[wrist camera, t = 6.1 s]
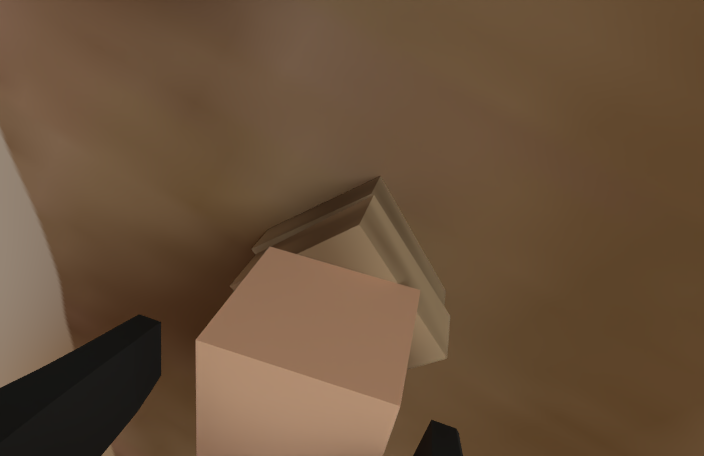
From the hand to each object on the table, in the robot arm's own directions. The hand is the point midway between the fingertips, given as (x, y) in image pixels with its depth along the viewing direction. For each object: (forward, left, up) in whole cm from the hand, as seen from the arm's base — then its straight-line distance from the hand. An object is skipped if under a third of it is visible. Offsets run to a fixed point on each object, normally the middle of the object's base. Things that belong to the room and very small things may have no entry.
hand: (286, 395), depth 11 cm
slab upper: (0, 0, -5) cm, 5 cm away
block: (0, 0, -3) cm, 3 cm away
